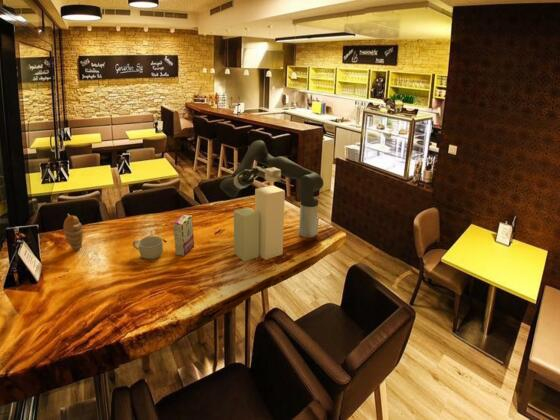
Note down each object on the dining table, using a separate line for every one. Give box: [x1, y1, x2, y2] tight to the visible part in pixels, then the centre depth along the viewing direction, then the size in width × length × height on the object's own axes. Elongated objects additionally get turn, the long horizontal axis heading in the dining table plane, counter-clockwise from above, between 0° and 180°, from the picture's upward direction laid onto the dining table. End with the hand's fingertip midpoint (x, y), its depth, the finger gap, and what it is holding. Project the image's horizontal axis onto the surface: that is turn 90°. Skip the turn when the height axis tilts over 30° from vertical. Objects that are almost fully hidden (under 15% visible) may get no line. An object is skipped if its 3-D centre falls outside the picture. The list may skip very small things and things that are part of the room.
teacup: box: [132, 235, 164, 260], centre depth 177 cm, size 14×11×8 cm
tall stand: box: [254, 185, 286, 261], centre depth 179 cm, size 10×9×32 cm
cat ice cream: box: [62, 213, 84, 251], centre depth 179 cm, size 9×8×18 cm
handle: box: [251, 165, 282, 183], centre depth 174 cm, size 5×17×5 cm, turn 37°
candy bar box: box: [172, 214, 195, 257], centre depth 182 cm, size 11×5×16 cm, turn 168°
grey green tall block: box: [233, 207, 260, 262], centre depth 178 cm, size 8×9×22 cm
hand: (260, 169), depth 176 cm, fingers closed on handle, 3 cm apart
